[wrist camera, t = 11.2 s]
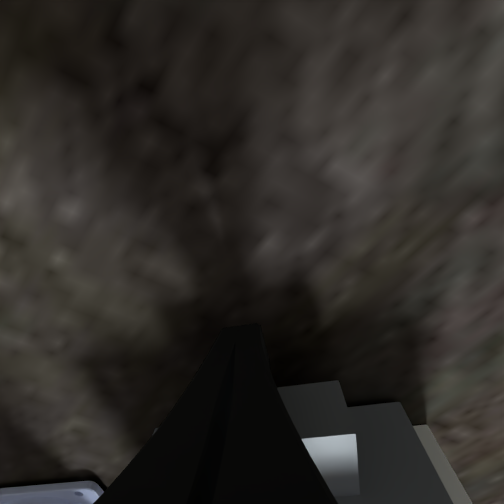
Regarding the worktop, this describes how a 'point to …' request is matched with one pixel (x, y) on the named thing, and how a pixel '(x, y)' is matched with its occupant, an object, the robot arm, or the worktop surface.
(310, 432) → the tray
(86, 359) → the worktop surface
